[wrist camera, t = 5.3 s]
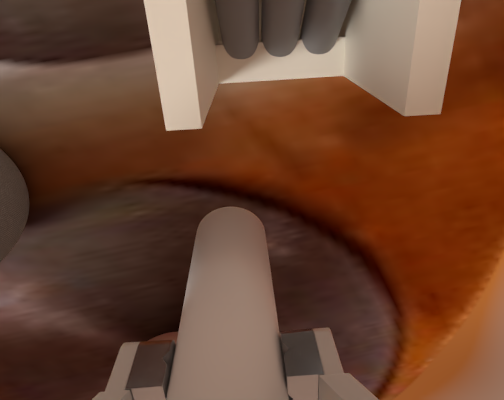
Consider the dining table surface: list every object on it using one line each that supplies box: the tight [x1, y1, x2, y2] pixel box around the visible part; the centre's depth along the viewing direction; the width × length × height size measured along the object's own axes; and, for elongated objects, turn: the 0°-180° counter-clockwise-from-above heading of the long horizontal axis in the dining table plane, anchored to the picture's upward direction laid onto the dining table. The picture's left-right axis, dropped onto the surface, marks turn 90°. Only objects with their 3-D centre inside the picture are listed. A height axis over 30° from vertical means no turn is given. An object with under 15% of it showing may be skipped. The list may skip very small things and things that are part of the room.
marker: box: [166, 207, 289, 400], centre depth 12 cm, size 3×3×11 cm
